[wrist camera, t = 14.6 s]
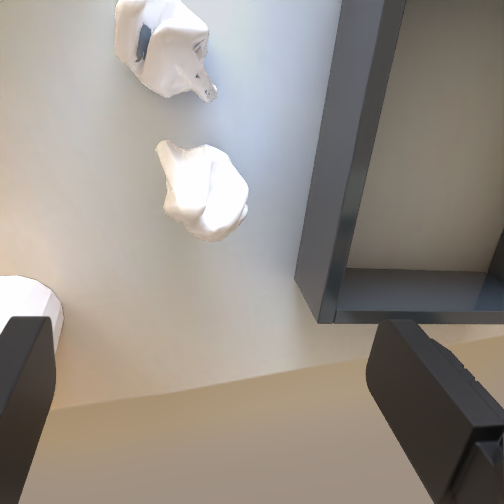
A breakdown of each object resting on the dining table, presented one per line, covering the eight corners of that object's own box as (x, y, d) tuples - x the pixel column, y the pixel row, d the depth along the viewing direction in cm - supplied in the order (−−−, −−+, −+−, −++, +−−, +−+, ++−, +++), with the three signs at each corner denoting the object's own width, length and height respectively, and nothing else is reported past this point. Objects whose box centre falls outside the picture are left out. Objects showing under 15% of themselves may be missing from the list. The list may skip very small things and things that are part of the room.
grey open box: (293, 279, 30) (317, 324, 25) (354, -69, 22) (406, -104, 17) (493, 284, 33) (549, 324, 28) (612, -19, 25) (720, -36, 20)
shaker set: (245, 206, 27) (286, 297, 17) (181, 224, 27) (184, 325, 17) (191, -12, 22) (207, -62, 12) (110, 8, 21) (56, -26, 12)
